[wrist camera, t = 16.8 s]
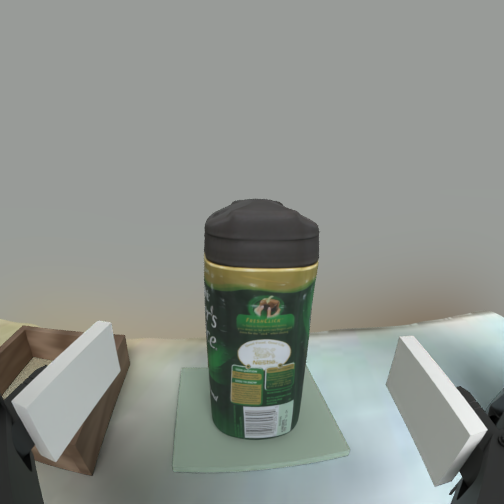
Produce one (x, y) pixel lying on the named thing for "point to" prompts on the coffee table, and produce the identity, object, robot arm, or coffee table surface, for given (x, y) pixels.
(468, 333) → the coffee table surface
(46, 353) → the walnut caddy
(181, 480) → the coffee table surface
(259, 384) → the coffee jar
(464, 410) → the robot arm
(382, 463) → the coffee table surface
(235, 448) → the sage mat
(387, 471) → the coffee table surface
